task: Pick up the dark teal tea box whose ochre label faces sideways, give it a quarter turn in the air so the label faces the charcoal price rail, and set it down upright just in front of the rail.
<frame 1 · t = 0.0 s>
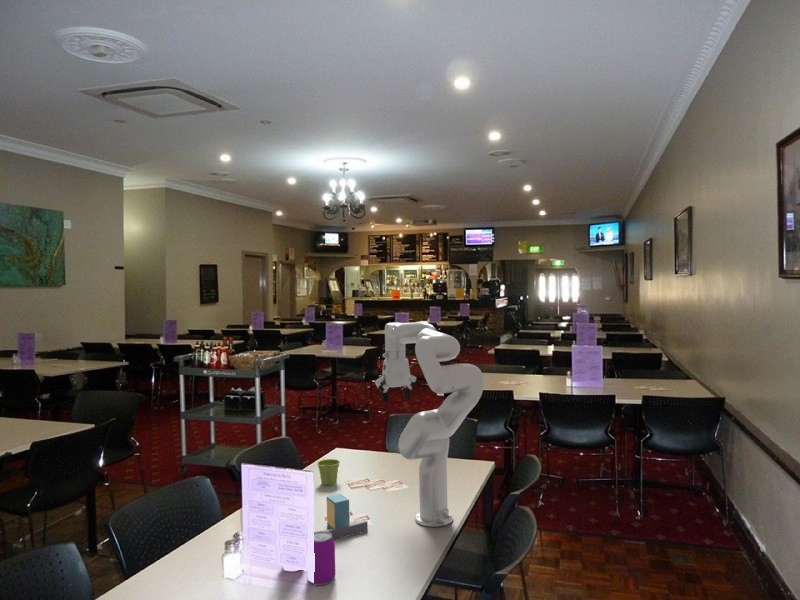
hand: (396, 401, 215), 37 cm above the table, tool pointing down, fingers open, 9 cm apart
tea box: (338, 527, 191), on the table
plant pot: (329, 483, 235), on the table
beverage can: (321, 580, 157), on the table
price rail: (347, 535, 185), on the table
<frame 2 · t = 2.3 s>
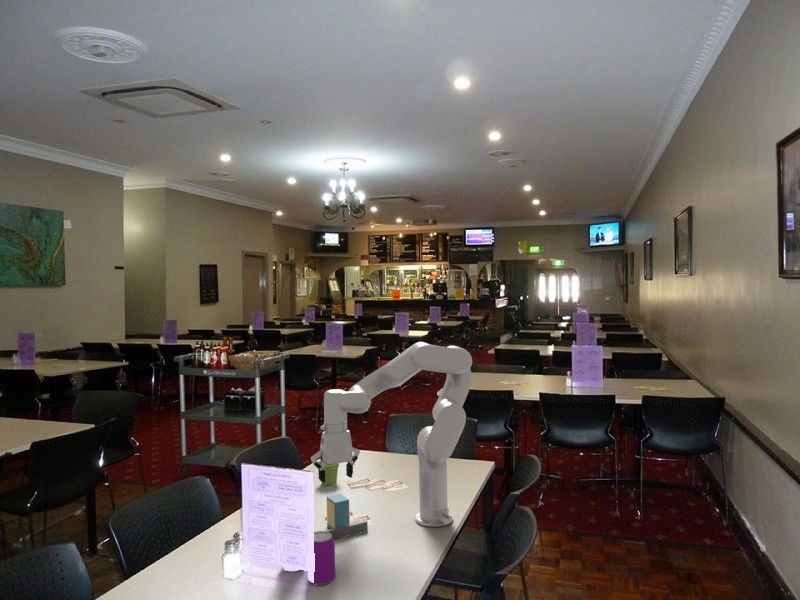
hand: (336, 478, 190), 16 cm above the table, tool pointing down, fingers open, 9 cm apart
nothing on the table moved.
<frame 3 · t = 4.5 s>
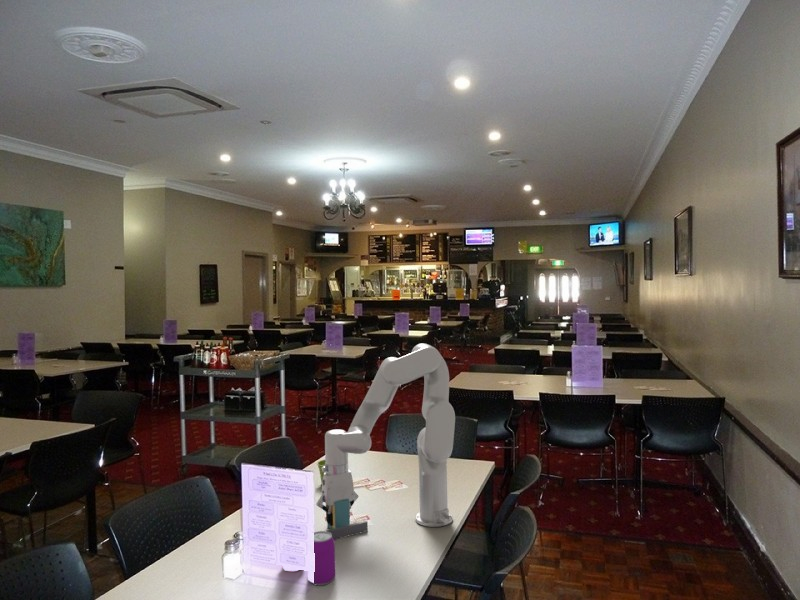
hand: (338, 521, 191), 2 cm above the table, tool pointing down, fingers closed on tea box, 5 cm apart
tea box: (338, 527, 191), on the table, touching gripper
everything else where it was.
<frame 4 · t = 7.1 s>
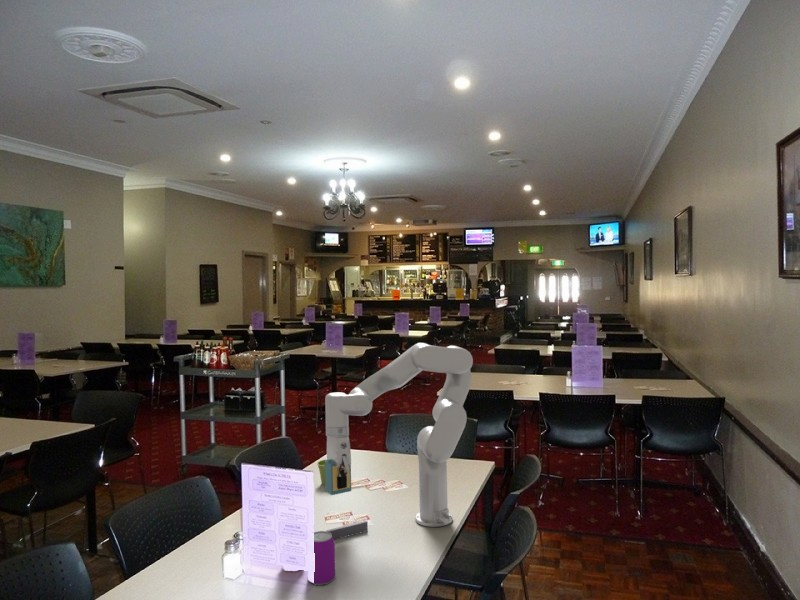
hand: (338, 484, 190), 15 cm above the table, tool pointing down, fingers closed on tea box, 5 cm apart
tea box: (338, 490, 190), point 13 cm above the table, touching gripper
everything else where it was.
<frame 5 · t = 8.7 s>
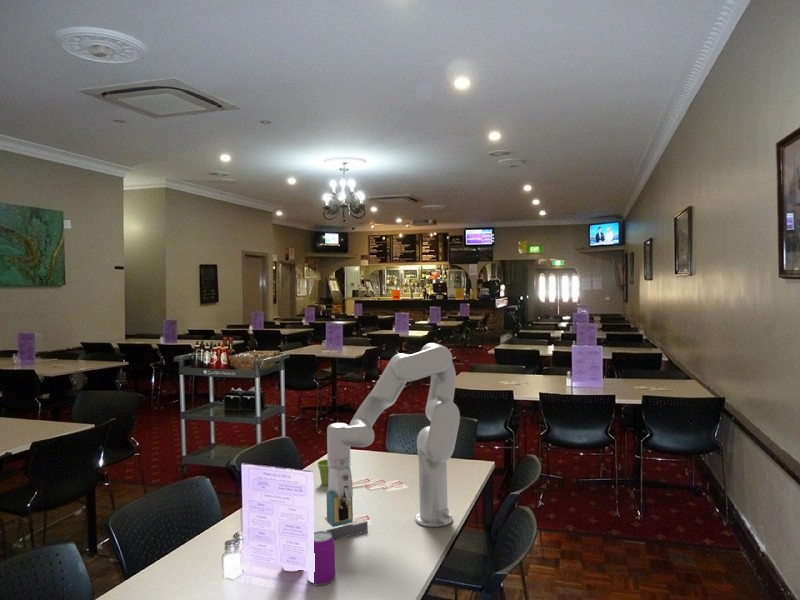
hand: (339, 516, 189), 5 cm above the table, tool pointing down, fingers closed on tea box, 5 cm apart
tea box: (339, 522, 189), point 3 cm above the table, touching gripper
everything else where it was.
when the fingers open (3 cm above the table, at t = 9.8 s): tea box drops 1 cm, resting on price rail.
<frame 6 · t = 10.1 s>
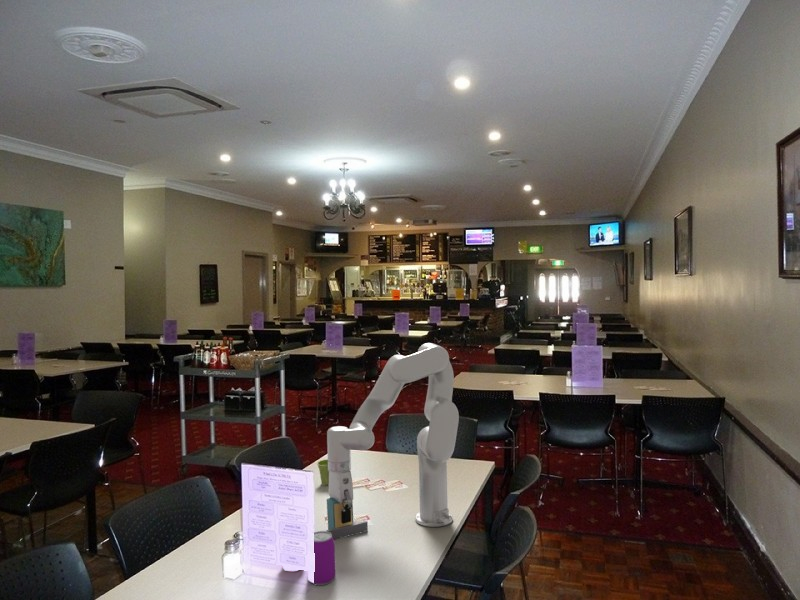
hand: (340, 517, 189), 4 cm above the table, tool pointing down, fingers open, 8 cm apart
tea box: (341, 529, 189), resting on price rail
everything else where it was.
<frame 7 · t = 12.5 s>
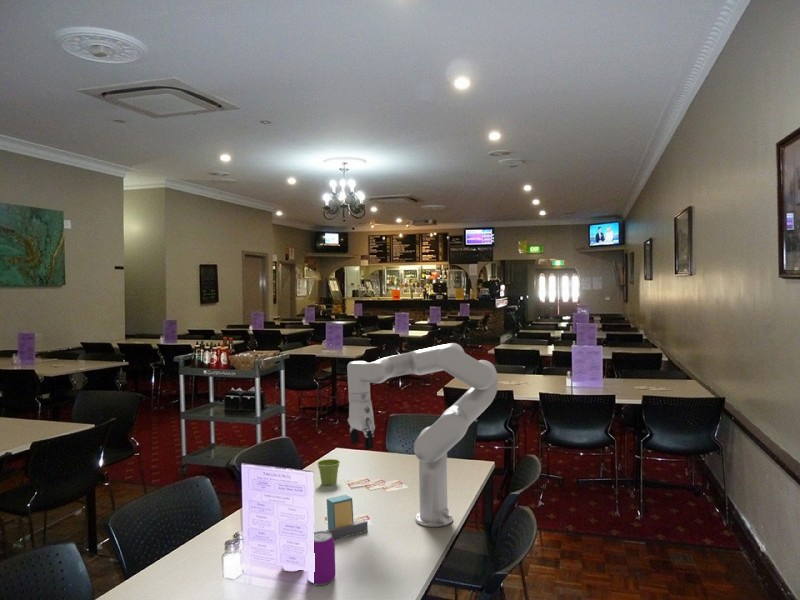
hand: (362, 445, 200), 24 cm above the table, tool pointing down, fingers open, 9 cm apart
nothing on the table moved.
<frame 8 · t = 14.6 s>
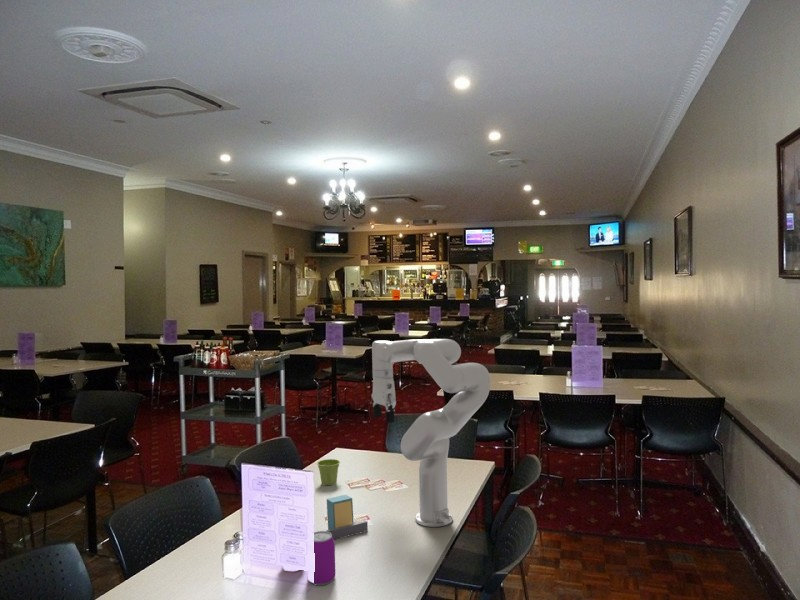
hand: (383, 419, 214), 30 cm above the table, tool pointing down, fingers open, 9 cm apart
nothing on the table moved.
at the end: tea box inside the target area (0.2 cm from its centre), on the table; tea box tilted 4°; the gripper is holding nothing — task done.
